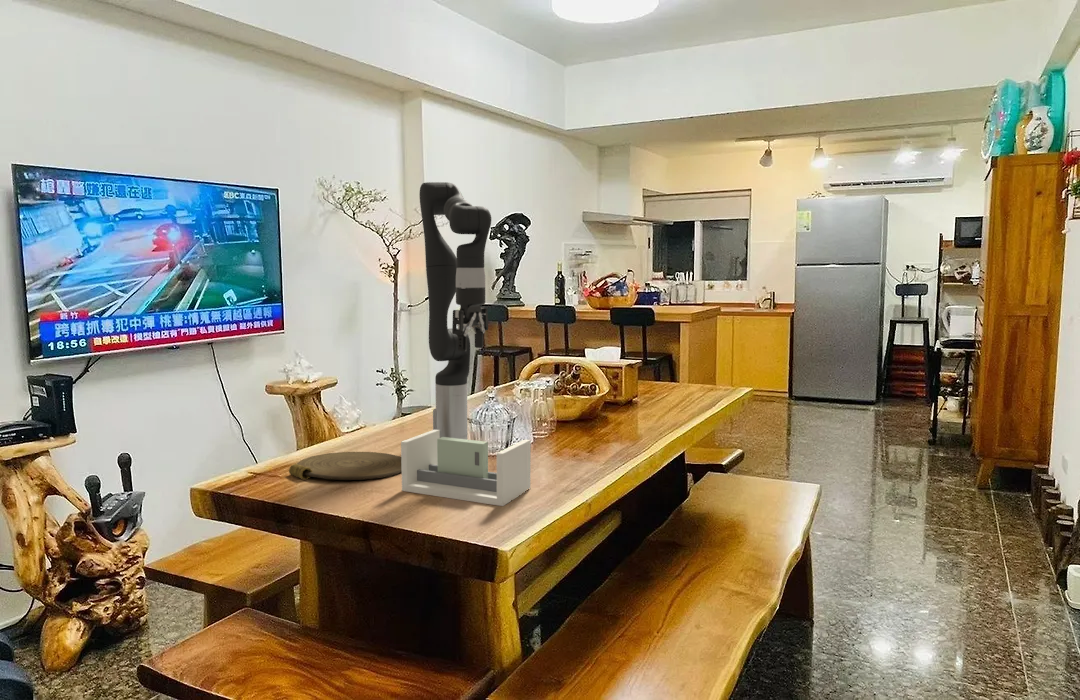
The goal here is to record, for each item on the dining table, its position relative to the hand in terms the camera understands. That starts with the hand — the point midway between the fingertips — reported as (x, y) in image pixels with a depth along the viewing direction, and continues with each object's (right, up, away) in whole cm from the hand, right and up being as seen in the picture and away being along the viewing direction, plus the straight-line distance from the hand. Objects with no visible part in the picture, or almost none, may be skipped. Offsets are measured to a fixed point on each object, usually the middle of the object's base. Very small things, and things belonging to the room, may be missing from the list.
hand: (470, 349), depth 191 cm
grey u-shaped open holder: (+1, -32, -19) cm, 37 cm away
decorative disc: (-30, -31, 0) cm, 43 cm away
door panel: (0, -31, -19) cm, 36 cm away
